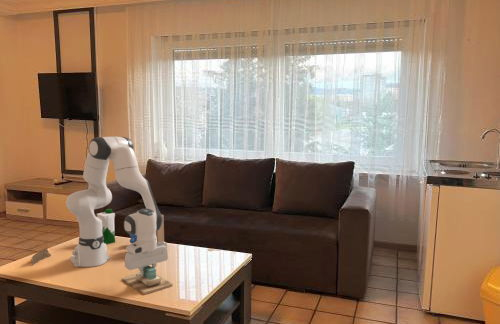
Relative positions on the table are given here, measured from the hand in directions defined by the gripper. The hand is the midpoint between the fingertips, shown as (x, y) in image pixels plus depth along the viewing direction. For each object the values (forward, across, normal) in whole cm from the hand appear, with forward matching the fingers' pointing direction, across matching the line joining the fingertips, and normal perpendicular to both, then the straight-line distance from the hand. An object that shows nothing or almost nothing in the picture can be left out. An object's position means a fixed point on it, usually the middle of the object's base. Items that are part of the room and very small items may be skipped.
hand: (147, 274), depth 191 cm
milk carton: (+5, -12, -72) cm, 73 cm away
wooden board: (+5, 0, -1) cm, 5 cm away
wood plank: (+6, +27, -65) cm, 71 cm away
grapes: (+5, -23, -56) cm, 61 cm away
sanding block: (+3, 0, +1) cm, 3 cm away
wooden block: (+5, -26, -41) cm, 49 cm away
